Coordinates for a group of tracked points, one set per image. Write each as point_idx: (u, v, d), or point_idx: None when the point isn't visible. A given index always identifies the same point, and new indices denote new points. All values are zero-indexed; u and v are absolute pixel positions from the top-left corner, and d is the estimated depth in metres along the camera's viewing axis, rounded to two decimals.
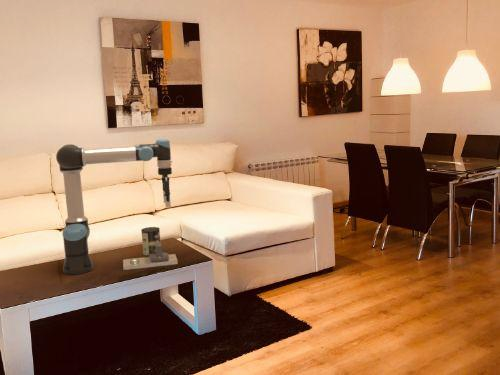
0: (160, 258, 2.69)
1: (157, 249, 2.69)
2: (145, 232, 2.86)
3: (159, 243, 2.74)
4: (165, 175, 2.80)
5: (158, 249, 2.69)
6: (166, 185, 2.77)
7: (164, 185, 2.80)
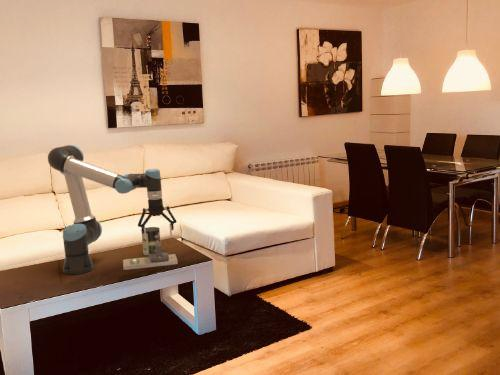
0: (160, 258, 2.69)
1: (157, 249, 2.69)
2: None
3: (159, 243, 2.74)
4: None
5: (158, 249, 2.69)
6: (141, 216, 2.68)
7: None
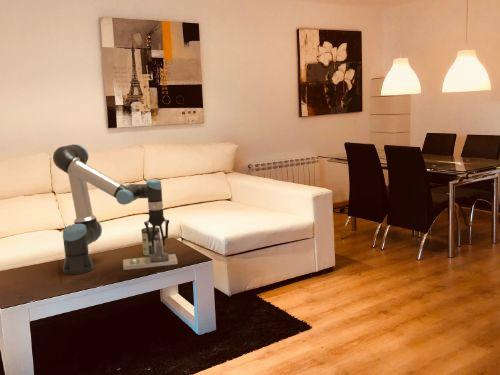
0: (160, 258, 2.69)
1: (157, 249, 2.69)
2: (145, 232, 2.86)
3: (159, 243, 2.74)
4: (149, 217, 2.69)
5: (158, 249, 2.69)
6: None
7: (152, 228, 2.71)
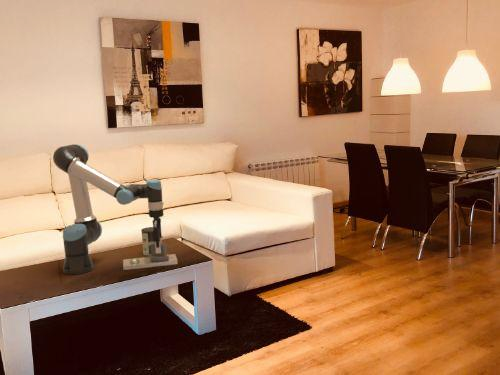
0: (167, 256, 2.72)
1: (164, 248, 2.70)
2: (145, 232, 2.86)
3: None
4: (155, 218, 2.66)
5: (164, 247, 2.71)
6: (155, 231, 2.65)
7: None
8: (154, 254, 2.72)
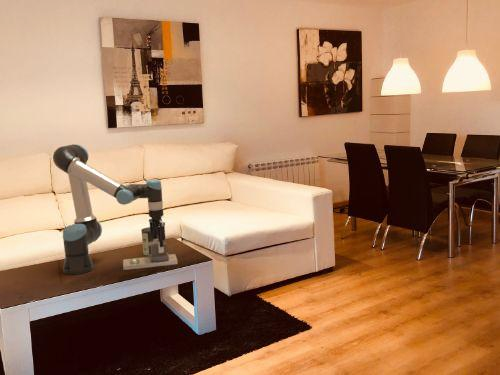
0: None
1: None
2: (145, 232, 2.86)
3: (155, 244, 2.73)
4: (159, 217, 2.67)
5: None
6: (162, 231, 2.66)
7: (158, 229, 2.68)
8: (155, 255, 2.71)
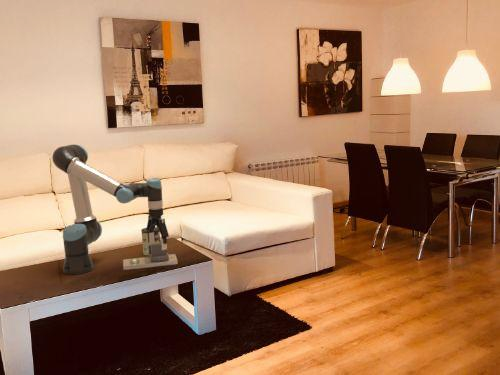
0: None
1: None
2: (145, 232, 2.86)
3: (155, 244, 2.73)
4: (159, 216, 2.67)
5: None
6: (163, 227, 2.64)
7: (159, 227, 2.66)
8: (155, 255, 2.71)
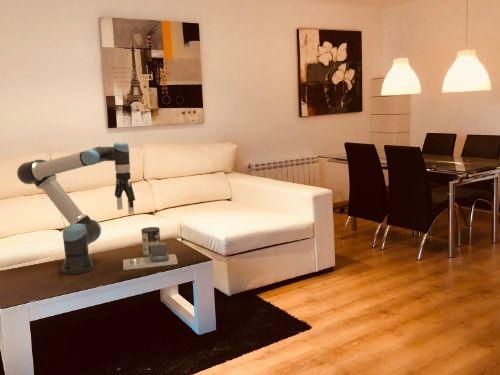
0: None
1: None
2: (145, 232, 2.86)
3: (155, 244, 2.73)
4: (126, 180, 2.66)
5: None
6: (130, 190, 2.64)
7: (126, 191, 2.66)
8: (155, 255, 2.71)
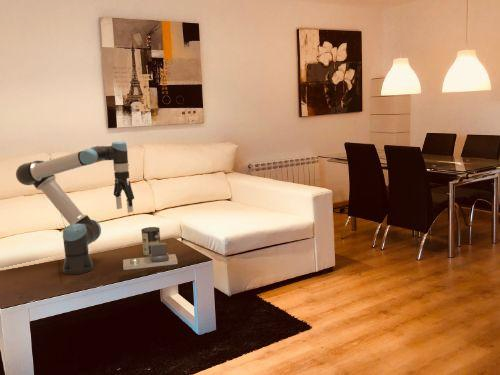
0: None
1: None
2: (145, 232, 2.86)
3: (155, 244, 2.73)
4: (125, 179, 2.66)
5: None
6: (129, 189, 2.64)
7: (124, 189, 2.66)
8: (155, 255, 2.71)
